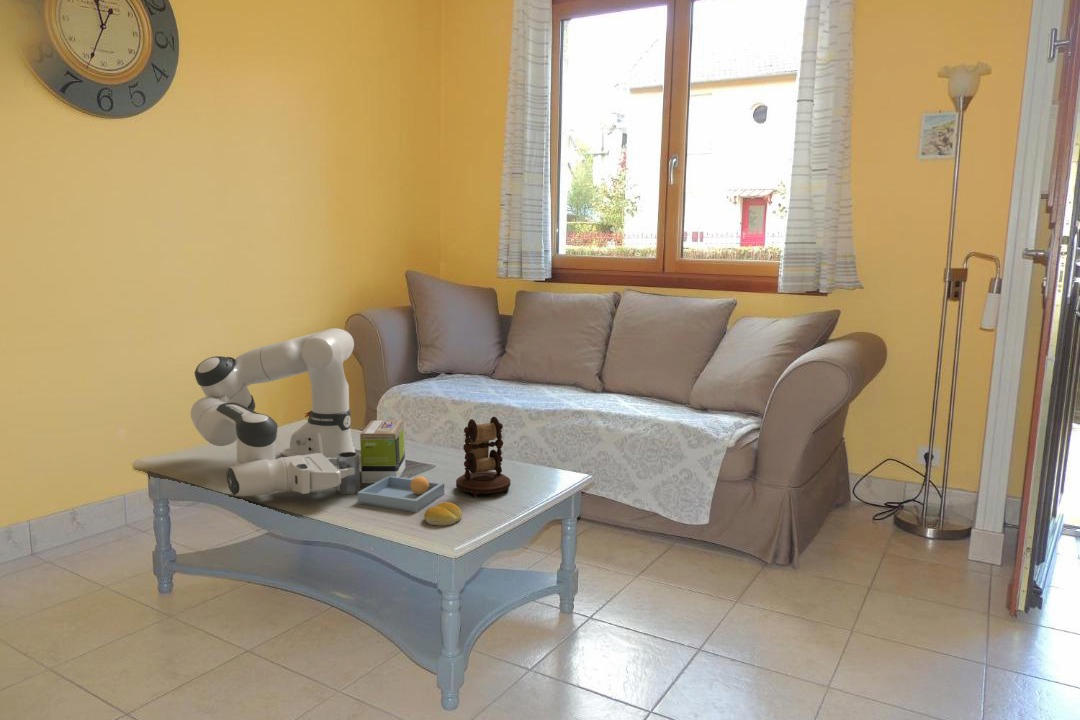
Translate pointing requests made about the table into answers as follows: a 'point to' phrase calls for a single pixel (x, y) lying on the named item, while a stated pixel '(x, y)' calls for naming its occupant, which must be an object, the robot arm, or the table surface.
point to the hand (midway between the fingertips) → (348, 465)
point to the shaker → (352, 481)
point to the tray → (399, 494)
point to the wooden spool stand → (483, 459)
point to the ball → (419, 485)
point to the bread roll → (443, 514)
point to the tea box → (382, 450)
